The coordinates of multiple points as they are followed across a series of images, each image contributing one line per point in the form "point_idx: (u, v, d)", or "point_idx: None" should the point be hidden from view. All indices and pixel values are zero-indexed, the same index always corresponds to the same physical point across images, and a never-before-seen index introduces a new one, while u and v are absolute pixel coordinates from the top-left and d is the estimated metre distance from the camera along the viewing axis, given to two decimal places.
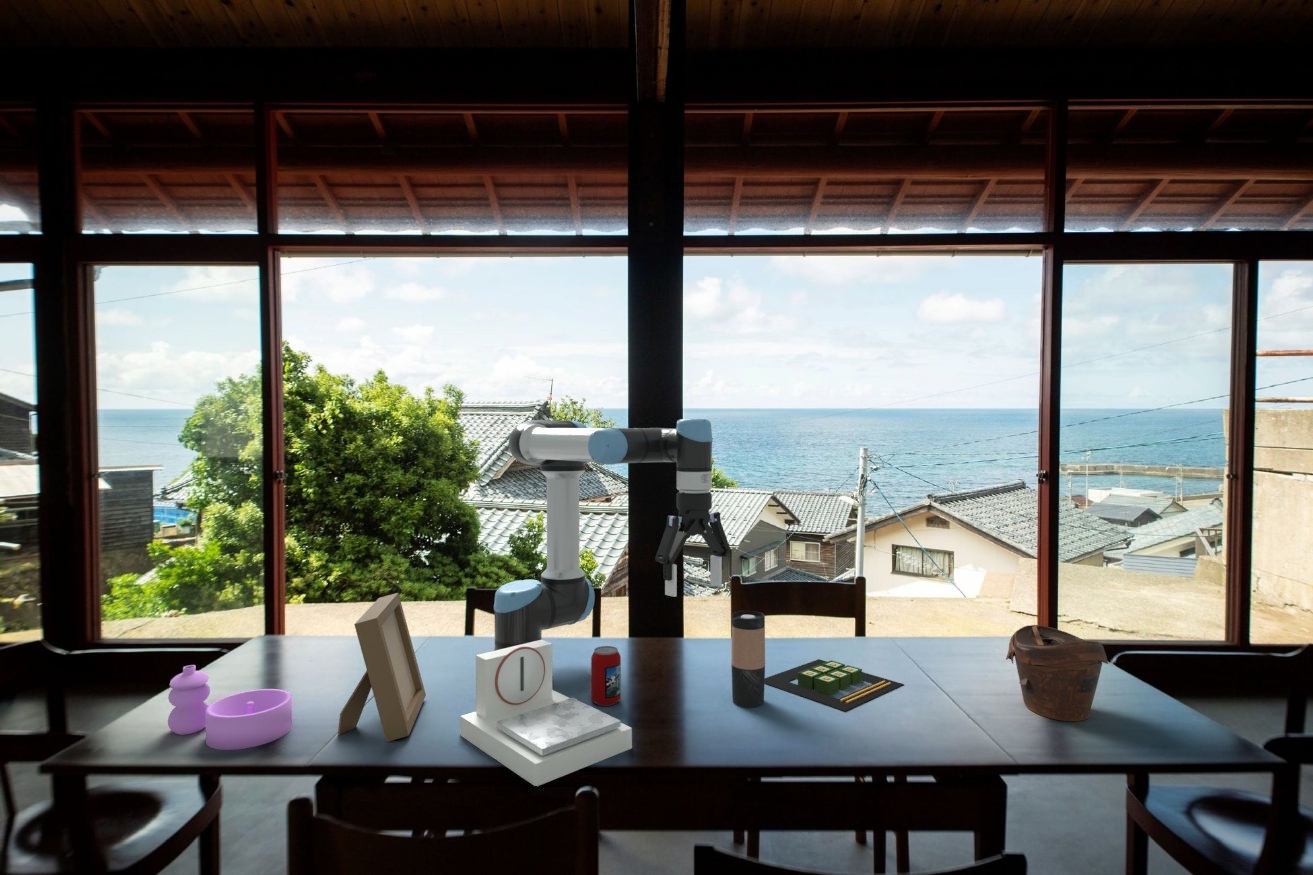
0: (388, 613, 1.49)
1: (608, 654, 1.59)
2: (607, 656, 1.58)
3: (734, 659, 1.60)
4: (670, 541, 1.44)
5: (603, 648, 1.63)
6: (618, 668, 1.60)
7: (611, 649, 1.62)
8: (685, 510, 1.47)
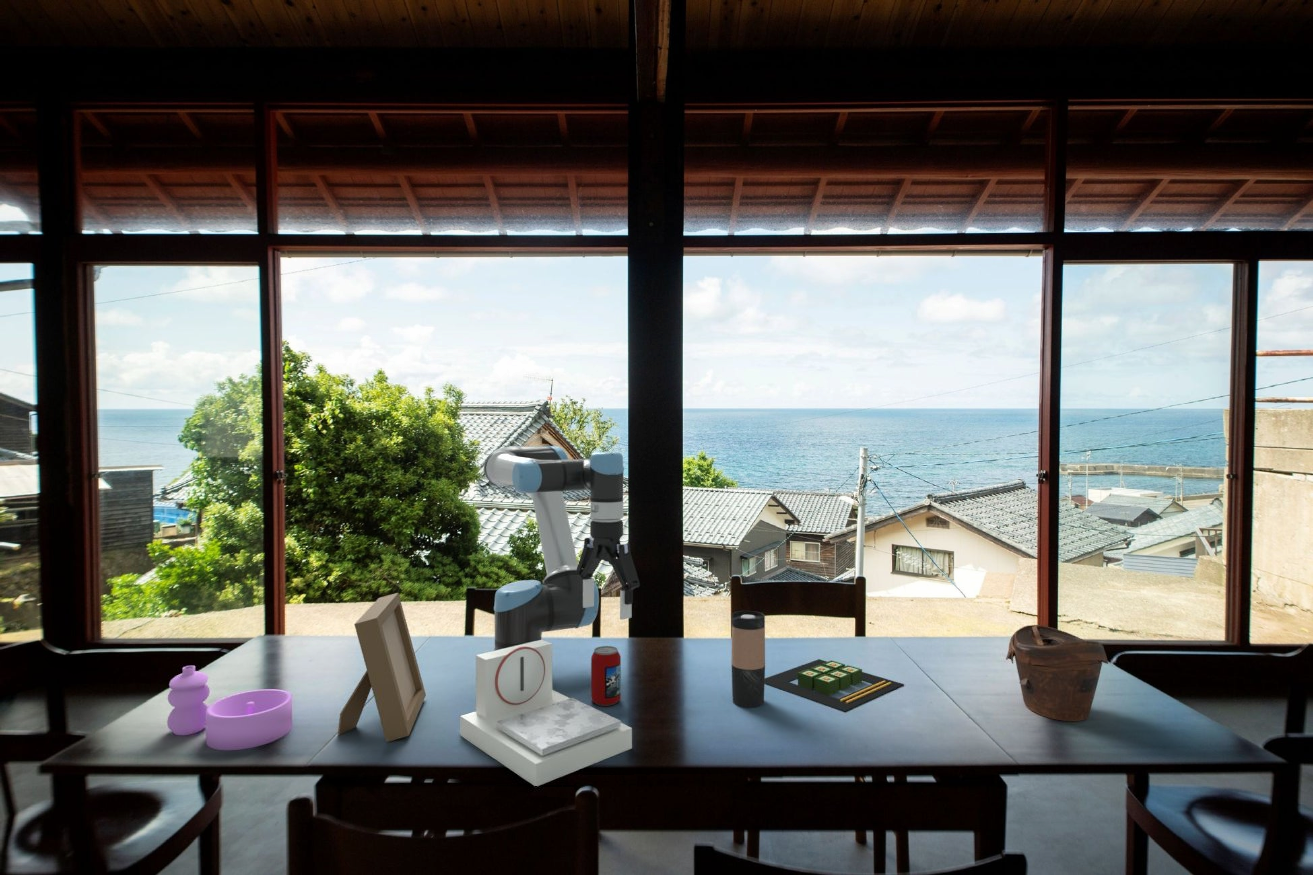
0: (388, 613, 1.49)
1: (608, 654, 1.59)
2: (607, 656, 1.58)
3: (734, 659, 1.60)
4: (581, 558, 1.66)
5: (603, 648, 1.63)
6: (618, 668, 1.60)
7: (611, 649, 1.62)
8: None
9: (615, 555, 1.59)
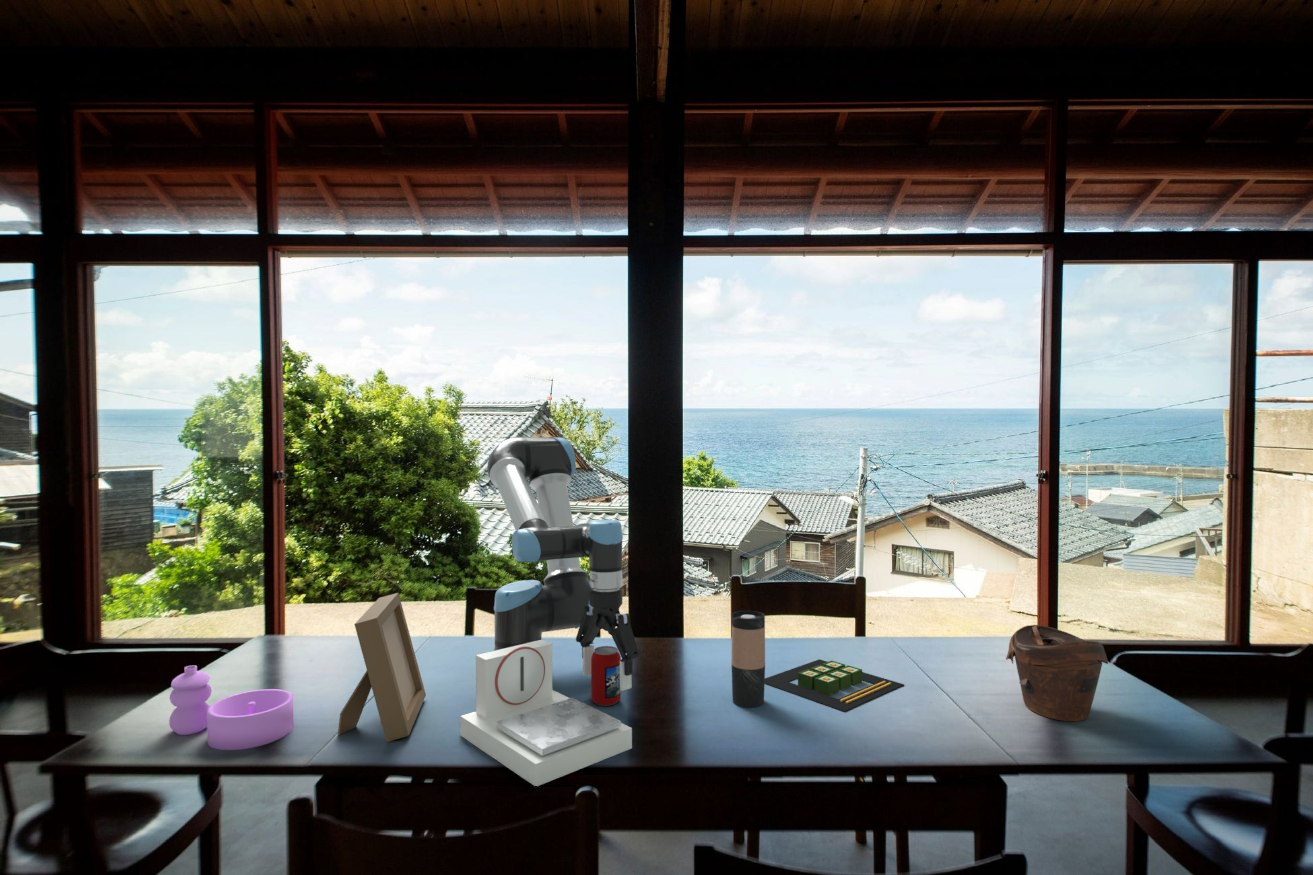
0: (388, 613, 1.49)
1: (608, 654, 1.59)
2: (607, 656, 1.58)
3: (734, 659, 1.60)
4: (580, 625, 1.66)
5: (603, 648, 1.63)
6: (618, 668, 1.60)
7: (611, 649, 1.62)
8: None
9: (614, 624, 1.59)
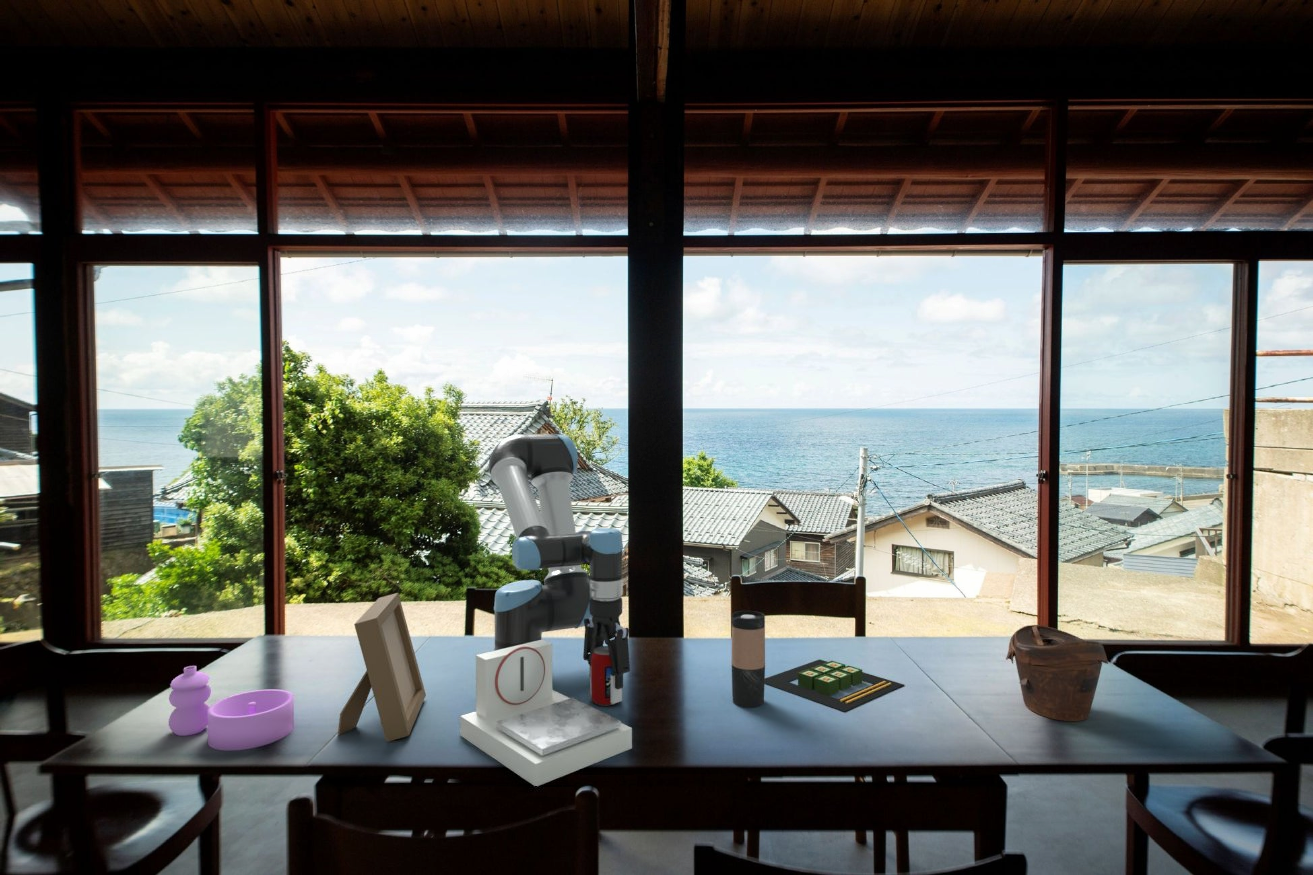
0: (388, 613, 1.49)
1: (608, 654, 1.59)
2: (607, 656, 1.58)
3: (734, 659, 1.60)
4: (585, 641, 1.65)
5: (603, 648, 1.63)
6: None
7: None
8: None
9: None
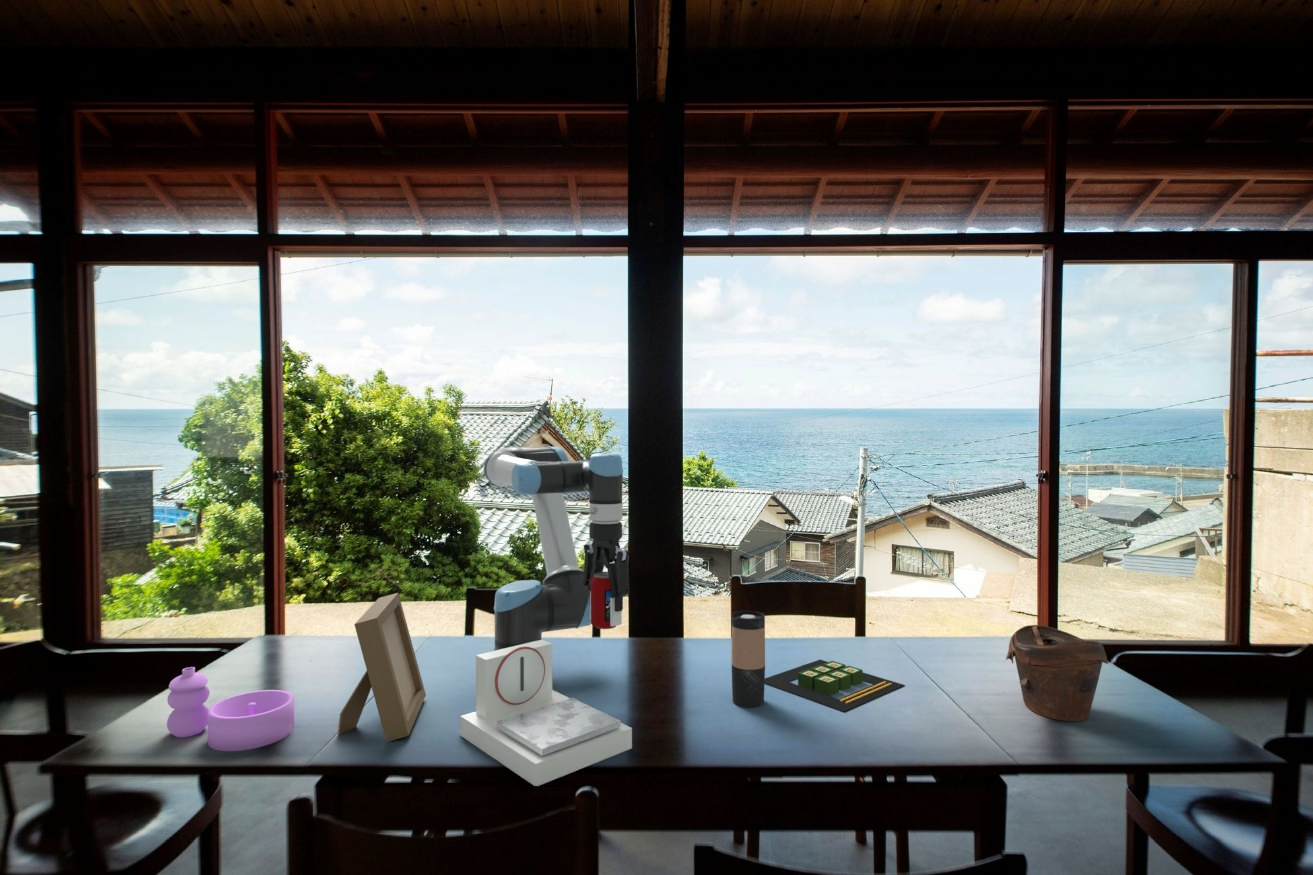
0: (388, 613, 1.49)
1: (607, 577, 1.59)
2: (607, 580, 1.58)
3: (734, 659, 1.60)
4: (584, 567, 1.65)
5: (603, 573, 1.63)
6: None
7: None
8: None
9: None
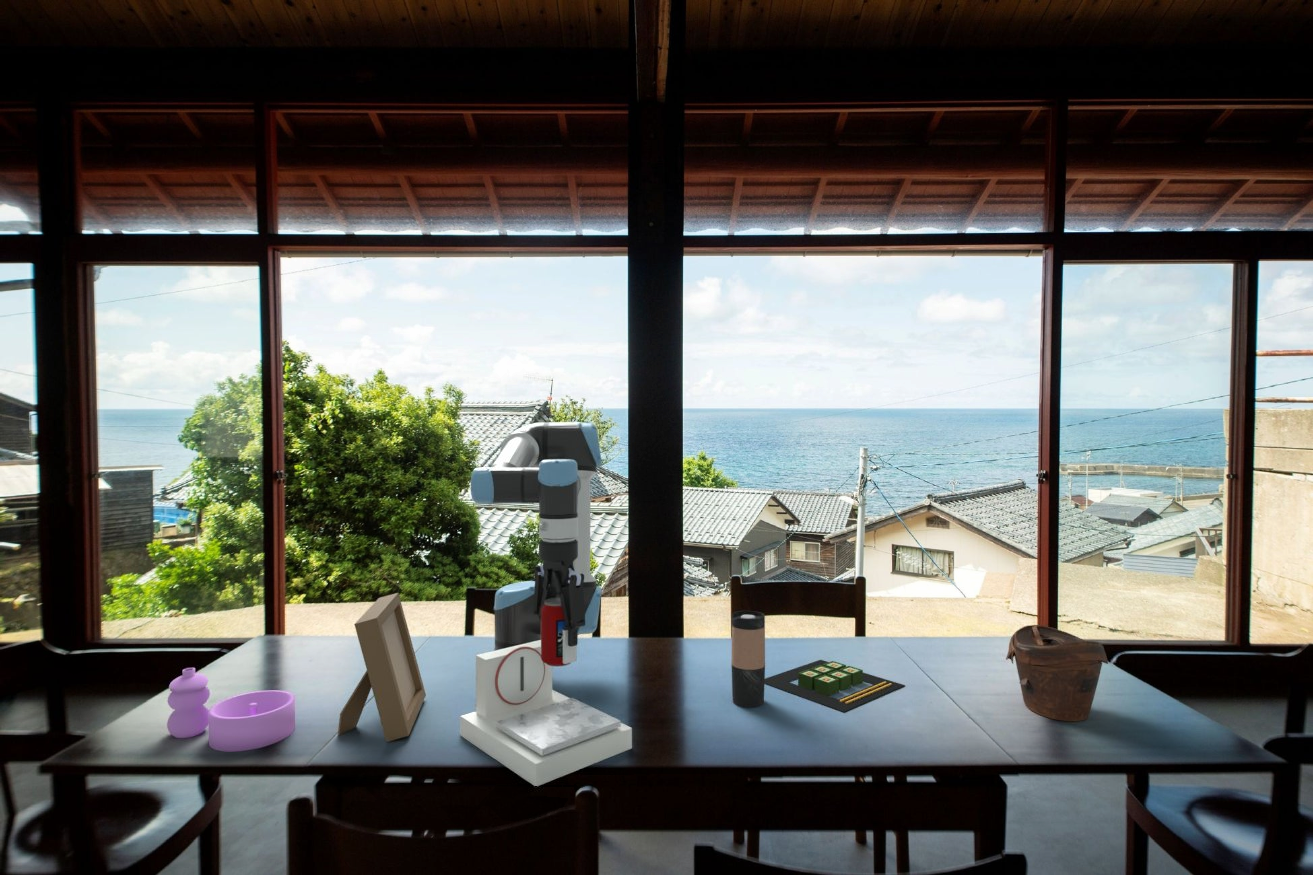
0: (388, 613, 1.49)
1: (560, 605, 1.34)
2: (559, 608, 1.34)
3: (734, 659, 1.60)
4: (535, 592, 1.41)
5: (556, 600, 1.38)
6: None
7: None
8: None
9: None
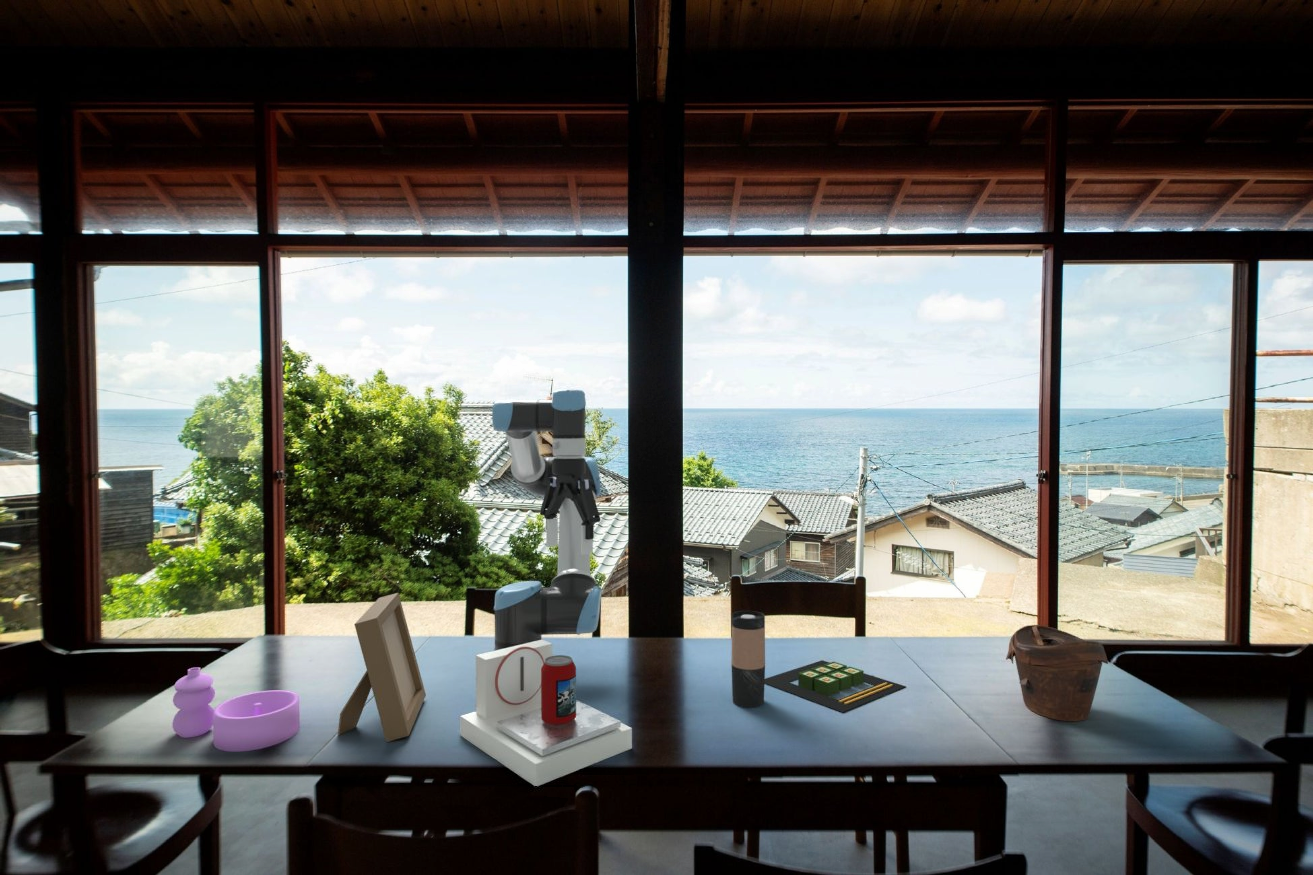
0: (388, 613, 1.49)
1: (560, 665, 1.34)
2: (559, 668, 1.34)
3: (734, 659, 1.60)
4: (544, 497, 1.66)
5: (556, 658, 1.38)
6: (572, 681, 1.35)
7: (565, 659, 1.38)
8: None
9: (577, 492, 1.59)
